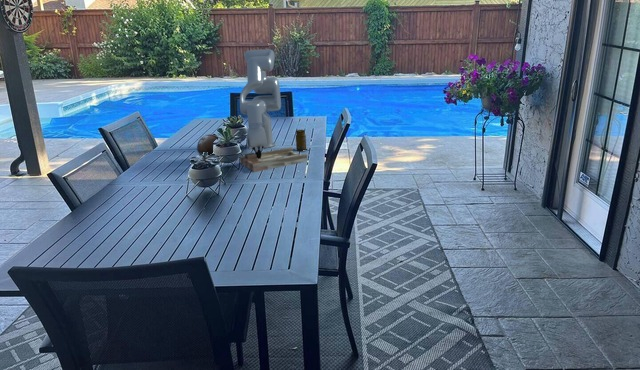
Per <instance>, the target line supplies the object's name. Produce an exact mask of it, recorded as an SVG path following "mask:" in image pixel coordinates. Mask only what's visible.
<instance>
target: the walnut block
mask: <svg viewBox="0 0 640 370" xmlns="http://www.w3.org/2000/svg"><path fill="white" fill-rule="evenodd" d="M244 156H245V158H246V159H248V160H249V161H251V162H257V156H256V154H255V152H249V153H245V154H244Z"/></svg>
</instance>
